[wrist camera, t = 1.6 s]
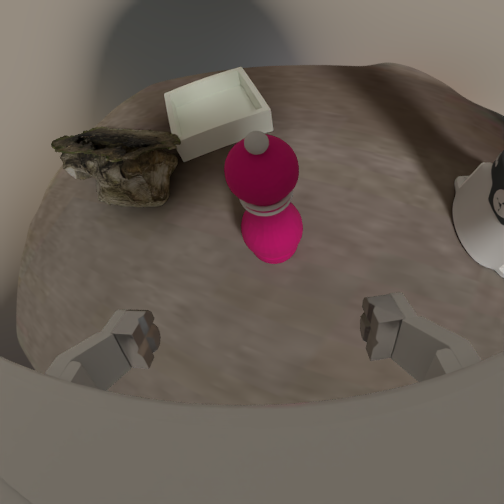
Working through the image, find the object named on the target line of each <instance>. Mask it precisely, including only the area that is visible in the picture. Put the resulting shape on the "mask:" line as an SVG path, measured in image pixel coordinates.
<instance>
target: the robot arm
mask: <svg viewBox="0 0 504 504" xmlns="http://www.w3.org/2000/svg"><path fill="white" fill-rule="evenodd" d="M454 184H455V191H456V195H455V198H454V202H453V208H452V213H453V221H454V225H455V229H456V232H457V234H458V237H459V239H460V241H461V243H462V245H463V246H464V248H465V249H466V251H467V252H468V253H469V255H470V256H471V257H472V258H473V259H474V260H475V261H476V262H478V263H479V264H481V265H483V266H485V267H488V268H491V269H493V270H495V271H496V272H497V273H498V274H499V275H500V276H501V277H503V278H504V150H503V152H502V153H500V154H499V155H498V156H497V158H496V160H495V161H494V163H490V162H487V163H485V162H483V163H481V164H480V165H479V166H478V167H477V168H476V169H475V171H474V172H473V173H472V174H471V175H470V176H459V177H457V178H456V179H455V182H454ZM362 308H363V310H364V313H363V314H362V315H361V319H360V332H361V336H362V339H363V340H364V341H365V342H367V345H366V350H367V353H368V356H369V359H370V361H373V360H380V359H386V358H391V359H392V360H393V361H395V362H396V363H397V364H398V365H399V366H401V367H402V368H403V369H404V370H405V371H407V372H408V373H409V374H410V375H411V376H413V377H414V378H415V379H416V380H417V381H418V383H414V384H410V385H406V386H402V387H398V388H394V389H389V390H385V391H380V392H375V393H370V394H365V395H359V396H353V397H347V398H340V399H332V400H324V401H315V402H305V403H292V404H274V405H216V404H198V403H185V402H174V401H165V400H157V399H150V398H143V397H137V396H131V395H125V394H120V393H115V392H110V391H106V390H108V389H109V388H110V387H111V386H112V385H113V384H114V383H115V382H117V381H118V380H119V379H120V378H121V377H122V376H123V375H124V374H126V373H127V372H128V371H129V370H130V369H131V367H133V368H145V369H149V368H150V366H151V363H152V361H153V359H154V355H153V352H155V351H156V350H158V348H159V345H160V338H161V337H160V332H159V329H158V327H157V326H156V325H155V324H153V321H154V317H153V314H152V312H151V311H149V310H125V309H119V310H116V312H115V313H114V314H113V316H112V317H111V318H110V320H109V321H108V323H107V324H106V325H105V327H104V328H103V330H102V331H101V332H100V333H96V334H94V335H92V336H91V337H89V338H87V339H86V340H84V341H82V342H81V343H79V344H77V345H75V346H74V347H72V348H70V349H69V350H67V351H65V352H64V353H62V354H60V355H58V356H57V357H56V358H55V360H54V361H53V363H52V364H51V365H50V367H49V368H48V370H47V371H46V373H45V374H43V373H41V372H38V371H35V370H32V369H29V368H27V367H24V366H21V365H19V364H16V363H14V362H12V361H9V360H7V359H5V358H3V357H0V504H504V351H503V352H501V353H498V354H496V355H494V356H492V357H489V358H487V359H485V360H481V358H480V357H479V355H478V354H477V352H476V351H475V349H474V348H473V346H472V345H471V343H470V342H469V340H467V339H465V338H463V337H461V336H459V335H457V334H455V333H454V332H452V331H450V330H448V329H446V328H444V327H442V326H440V325H438V324H436V323H434V322H432V321H430V320H428V319H426V318H424V317H422V316H420V317H418V316H417V314H416V312H415V311H414V309H413V308H412V306H411V305H410V303H409V302H408V300H407V299H406V298H405V296H404V295H403V293H401V292H396V293H391V294H387V295H380V296H373V297H365V298H364V300H363V304H362Z"/></svg>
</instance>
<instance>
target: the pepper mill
mask: <svg viewBox="0 0 504 504" xmlns="http://www.w3.org/2000/svg"><path fill="white" fill-rule="evenodd" d="M224 172H225V178H226V182H227V184H228V186H229V188H230V190H231V192H232V193H234V194H235V195H236V196H237V197H238V198H239V200H240V202H241V204H242V206H243V207H244V208H245V209H246V211H245V212H244V215H243V218H242V223H241V231H242V236H243V239H244V242H245V243H246V245H247V246H248V248H249V249H250V250H251V251H253V252H254V254H255V255H256V256H257V257H258V258H259V259H260V260H262V261H264V262H266V263H271V264H277V263H282V262H284V261H286V260H288V259H289V258H290V257H291V256H292V255H293V254H294V253H295V251H296V249H297V246H298V243H299V242H300V239H301V237H302V232H303V225H302V219H301V216H300V214H299V212H298V210H297V209H296V207H295V206H294V205H293V204H292V203H291V200H292V197H293V189H294V187H295V185H296V183H297V180H298V176H299V166H298V160H297V157H296V155H295V153H294V151H293V149H292V148H291V147H290V146H289V145H288V144H287V143H286V142H284V141H283V140H281V139H280V138H277V137H275V136H272V135H267V134H264V133H263V132H261V131H252V132H250V133H248V134H247V136H246V137H245V138H244V139H242V140H241V141H239V142H238V143H236V144H235V145H234V146H233V148H232V149H231V150H230V151H229V153H228V156H227V158H226V160H225V167H224Z"/></svg>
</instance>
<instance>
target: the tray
mask: <svg viewBox="0 0 504 504" xmlns="http://www.w3.org/2000/svg"><path fill="white" fill-rule="evenodd" d="M164 97H165V103H166V108H167V114H168V119H169V124H170V129H171V133H172V134H176V135H178V138H179V139H180V140H181V144H180V145H176V146H177V151H178V153H179V155H180V156H181V158H182V160H183V162H186V161H189V160H191V159H194V158H196V157H199V156H201V155H204V154H206V153H209V152H212V151H214V150H217V149H220V148H223V147H225V146H228V145H231V144H234V143H237V142H239V141H241V140H242V139H244V138H245V137H246V136H247V134H248V133H250V132H252V131H261V132H263V133H268V132H271V131H273V124H272V116H271V109H270V108H269V106H268V105H267V103H266V102H265V100H264V99H263V97H262V96H261V94H260V93H259V91H258V90H257V88H256V87H255V85H254V84H253V82H252V81H251V80H250V78H249V77H248V75H247V74H246V73H245V71H244V70H243V68H242V67H238V68H235V69H231V70H228V71H225V72H222V73H218V74H215V75H212V76H209V77H206V78H203V79H201V80H198V81H195V82H192V83H190V84H187V85H184V86H182V87H179V88H177V89H174V90H172V91H169V92H167V93H165V94H164Z"/></svg>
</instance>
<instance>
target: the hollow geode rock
mask: <svg viewBox="0 0 504 504" xmlns="http://www.w3.org/2000/svg"><path fill="white" fill-rule="evenodd" d="M82 136H83V137H82ZM87 136H88V137H87ZM91 136H95V137H91ZM85 137H86V138H85ZM180 144H181V140H180V139H179V138H178V135H176V134H172V133H170V132H159V131H153V130H131V129H109V127H97V128H92V129H91V130H89V131H83V133H82V134H78V135H75V136H70V137H69V136H63V137H60V138H58V139H56V140H54V141H53V142H52V144H51V145H52V148H54V149H55V152H62V155H61V157H60V158H61V159H62V161H63V169H65V170H66V171H67V172H68V173H69V174H70V175H71V176H73V177H74V178H76V179H80V180H81V179H83V180H84V179H87V178H90V177H94V178H95V179H96V189H97V195H98V199H99V201H101V202H105V203H107V204H108V205H110V204H115V205H120V206H132V207H139V208H140V207H157V206H161V205H163V204H164V203H165V202H166V201H167V200H168V197H169V194H170V190H169V184H170V175H171V174H172V173H173V171H174V170H175V168H176V165H177V164H178V160H177V157H176V156H175V155H174V154H170V153H168V152H165V151H163V150H162V149H167V148H168V150H172V149H177V146H176V145H180Z"/></svg>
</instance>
